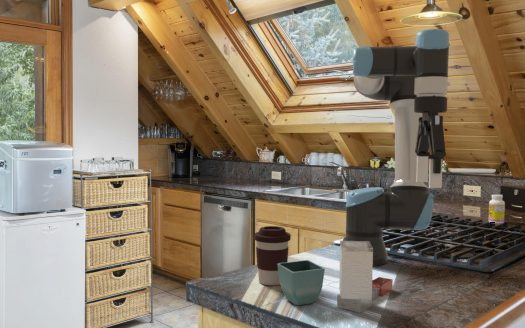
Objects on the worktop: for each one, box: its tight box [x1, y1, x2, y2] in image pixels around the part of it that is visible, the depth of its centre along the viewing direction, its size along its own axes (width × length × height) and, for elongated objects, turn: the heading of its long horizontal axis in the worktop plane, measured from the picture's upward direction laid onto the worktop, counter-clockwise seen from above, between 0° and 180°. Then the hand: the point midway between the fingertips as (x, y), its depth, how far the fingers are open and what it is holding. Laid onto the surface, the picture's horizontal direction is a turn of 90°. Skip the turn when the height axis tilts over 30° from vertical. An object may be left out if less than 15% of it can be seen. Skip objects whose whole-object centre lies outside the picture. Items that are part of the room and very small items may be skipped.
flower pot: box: [277, 259, 326, 306], centre depth 126 cm, size 9×9×9 cm
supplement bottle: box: [488, 194, 506, 225], centre depth 239 cm, size 7×7×13 cm
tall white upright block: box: [338, 240, 374, 300], centre depth 122 cm, size 7×7×12 cm
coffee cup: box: [253, 225, 292, 287], centre depth 141 cm, size 10×10×15 cm
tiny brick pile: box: [336, 276, 393, 314], centre depth 128 cm, size 6×21×7 cm, turn 143°
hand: (428, 184), depth 125 cm, fingers open, 13 cm apart
